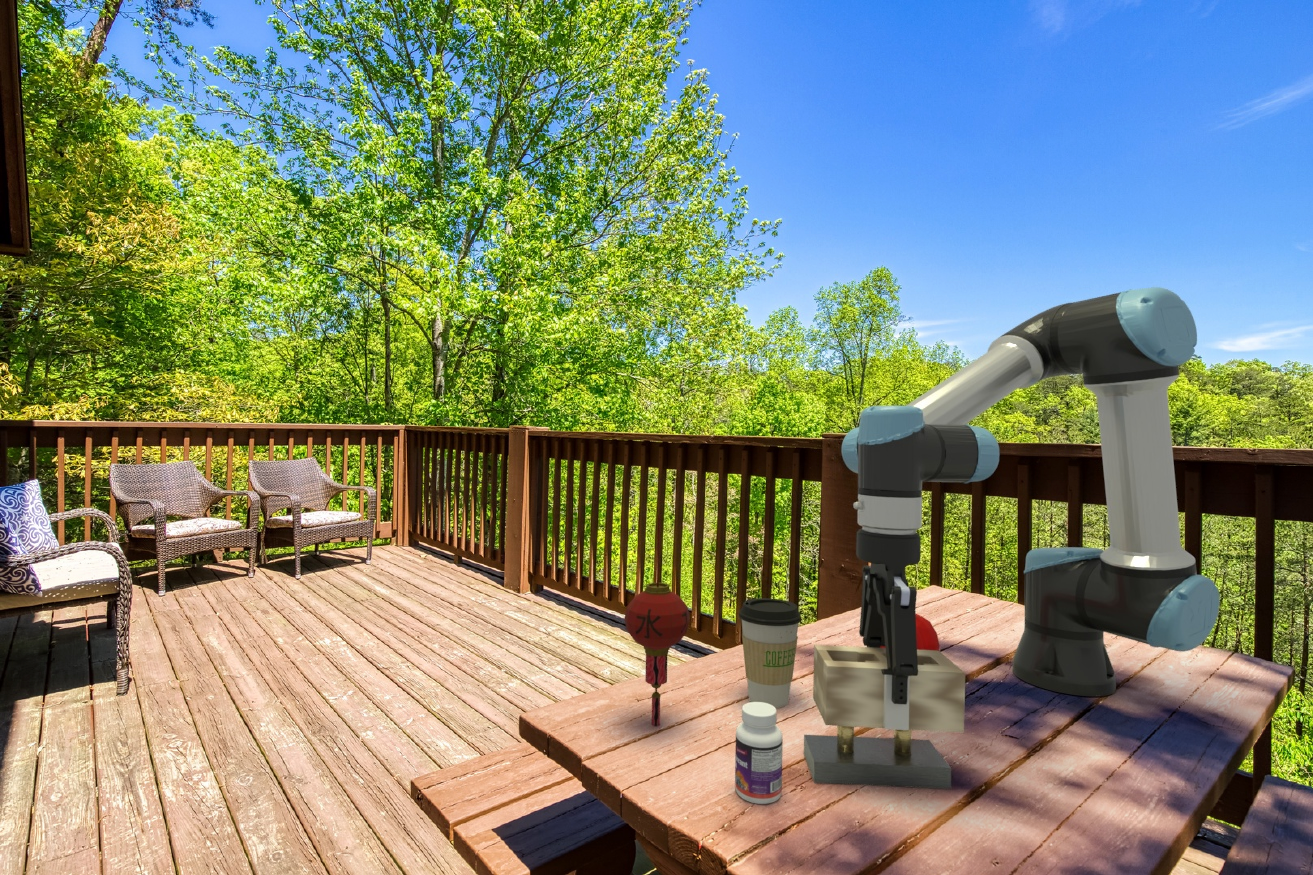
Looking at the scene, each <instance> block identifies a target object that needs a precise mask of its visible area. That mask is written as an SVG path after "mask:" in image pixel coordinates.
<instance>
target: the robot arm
mask: <svg viewBox="0 0 1313 875" xmlns="http://www.w3.org/2000/svg"><path fill="white" fill-rule="evenodd" d="M1195 321H1196V320H1195V319H1194V316H1193V314H1192V311H1191V310H1190V307H1189V306H1188V305H1187V302H1185V301H1184V300H1182V299H1181V297H1180V296H1179V295H1178V294H1177V293H1175V292H1174V291H1173V290H1170V289H1169V288H1168V289H1167V288H1164V287H1161V286H1160V287H1159V286H1158V287H1157V286H1155V287H1146V288H1139V289H1138V288H1137V289H1129V290H1124V291H1120V292H1117V293H1115V292H1114V293H1112V294H1107V295H1103V296H1099V297H1098V296H1097V297H1094V298H1093V297H1091V298H1088V299H1083V300H1078V301H1074V302H1067V303H1061V304H1059V305H1056V306H1053V307H1050V308H1048V309H1046V310H1044V311H1042V312H1039V313H1037V314H1036V315H1034V316H1032V317H1030V318H1029V319H1028V318H1027V319H1026V320H1025V321H1023V322H1021V323H1019V324H1018V325H1016V326H1014V327H1013V328H1012V329H1010V330H1008V331H1007V332H1004V333H1003V334H1002V335H1001V336H999V337H997V338H996V339H995V340H993V341H992V342H991V344H990V345H989V347H988V348H987V352H986V353H984V354H983V355H980V357H978V358H977V359H975V360H974V361H972V362H970V363H968V365H966V366H964V367H963V368H961V369H959V370H958V371H957V372H955V373H953V374H952V375H950V376H949V377H947V378H946V379H944V380H943V381H941V382H940V383H938V384H937V385H935V386H933V387H932V388H930V389H929V390H928V391H926V392H924V393H923V394H922V395H920V396H918V397H917V398H915V399H914V400H912V401H911V402H909V403H908V404H906V405H872V406H868V407H866V408H864V409H863V410H862V411H861V412H860V418H859V425H858V426H857V427H854V428H853V429H851V430H849V431H848V432H847V433H846V435H845V436H844V437H843V441H842V444H841V456H842V459H843V462H844V465H846V467H847V468H848V469H849V470H850V471H852V472H853V473H856V474H857V499H858V500H857V501H856V502H853V508H854V510H857V524H858V525H859V526H861V527H862V528H860V529H858V531H856V549H855V550H856V552H855V554H856V557H857V558H858V559H859V560H860V561H862V562H865V563H869V564H870V565H863V566H862V568H861V570H862V571H861V572H862V592H861V593H862V594H861V605H860V606H861V607H860V617H859V618H860V619H859V620H860V621H859V631H858V633H859V636H860V637H861V638H862V637H863V638H862V644H863V647H873V648H880V646H883V647H885V648H886V658H887V669H881V672H882V674H883V675H884V713H883V727H884V728H883V729H884V730H893V731H894V730H909V689H910V676H917V675H918V661H917V636H916V614H917V613H916V609H915V608H916V607H917V606H916V605H917V597H918V596H917V594H918V591H917V588H916V587H915V586H909V580H908V579H907V575H906V568H907V567H908V566H915V565H918V564H919V563H920V561H921V553H922V552H921V551H922V550H921V544H922V543H921V541H922V537H921V535H920V533H918V532H917V530H919V529H921V528H922V527H923V525H922V524H923V523H922V522H923V521H922V520H923V494H922V493H923V491H922V490H923V483H926V482H929V483H931V482H933V483H934V482H935V483H940V482H941V483H963V484H969V483H971V482H981V481H985V480H986V479H988V478H990V477H991V476H992V475H993V474H994V472H995V471H996V469H997V468H998V465H999V462H1000V446H999V443H998V441H997V439H996V437H995V436H994V434H993V433H992V432H991V431H989V430H987V429H986V428H983V427H980V426H974V425H970V424H968V423H969V422H971V421H973V419H975V418H977V417H978V416H980V415H981V414H982V413H984V412H986V410H989V409H990V408H992V407H993V406H994V405H995V404H997V403H999V402H1000V401H1001V400H1003V399H1004V398H1005V397H1007V396H1009V395H1010V394H1011V393H1013V392H1014V391H1015V390H1016V391H1017V389H1019V390H1020V389H1027V388H1031V387H1033V386H1034V385H1036V384H1037V383H1038V382H1040V381H1043V380H1046V379H1050V378H1054V377H1061V376H1069V375H1082V381H1083V387H1084V388H1086V389H1087V390H1089V391H1090V392H1092V393H1093V394H1094V395H1095V396H1096V405H1097V414H1098V424H1099V425H1098V426H1099V436H1100V437H1099V438H1100V445H1101V447H1100V448H1101V457H1102V466H1103V467H1102V468H1103V478H1104V490H1105V498H1106V499H1105V500H1106V510H1107V520H1108V521H1107V522H1108V531H1109V540H1110V543H1109V544H1110V545H1109V547H1107V549H1105V550H1104V549H1101V548H1097V547H1082V546H1081V547H1077V546H1075V547H1074V546H1072V547H1069V546H1068V547H1066V546H1065V547H1063V546H1062V547H1055V546H1054V547H1040V548H1039V547H1038V548H1037V547H1036V548H1032V549H1031V550H1029V551H1028V552H1027V553H1026V556H1025V567H1024V570H1023V575H1024V629H1023V632H1022V635H1021V638H1020V640H1019V643H1018V645H1017V648H1016V650H1015V653H1014V655H1013V657H1012V672H1013V674H1014V676H1015V677H1016V678H1018V679H1020V680H1022V681H1023V682H1025V683H1028V684H1030V685H1033V686H1036V687H1039V688H1041V689H1044V690H1049V691H1051V692H1057V693H1060V694H1066V695H1071V696H1072V695H1073V696H1079V697H1081V696H1082V697H1105V696H1109V695H1112V694H1115V692H1116V691H1117V688H1116V687H1117V678H1116V673H1115V671H1114V668H1113V665H1112V662H1111V659H1110V656H1109V652H1108V651H1107V648H1106V645H1105V642H1104V633H1107V634H1111V635H1114V636H1118V637H1121V638H1123V639H1128V640H1131V641H1135V642H1138V643H1142V644H1145V645H1149V646H1150V647H1153V648H1162V649H1166V650H1172V651H1175V652H1188V651H1192V650H1194V649H1196V648H1198V647H1199V646H1200V645H1201V644H1203V643H1204V642H1205V640H1206V639H1207V638H1208V637H1209V636H1210V634H1211V632H1212V631H1213V629H1214V627H1215V624H1216V622H1217V620H1218V616H1219V611H1220V609H1219V608H1220V603H1221V602H1220V593H1219V589H1218V587H1217V585H1216V583H1215V582H1214V581H1213V580H1212V579H1211V578H1209V577H1206V576H1205V575H1204V574H1203V575H1202V574H1197V573H1198V572H1197V564H1196V563H1197V562H1196V558H1195V557H1194V556H1193V555H1192V554H1191V553H1189V552H1188V551H1187V550H1185V548H1183V547H1182V542H1181V530H1180V521H1179V520H1180V519H1179V518H1180V517H1179V508H1178V500H1177V499H1178V496H1177V488H1176V487H1177V485H1176V484H1177V483H1176V474H1175V465H1174V453H1173V452H1174V451H1173V444H1172V442H1173V441H1172V440H1173V439H1172V429H1171V419H1170V406H1169V397H1168V389H1169V388H1170V386H1171V385H1172V384H1173V383H1174V382H1175V381H1177V380H1178V378H1179V377H1180V368H1179V366H1181V365H1183V364H1185V363H1187V362H1188V361H1190V360H1191V359H1192V357H1193V356H1194V354H1195V347H1196V346H1197V344H1198V332H1197V330H1198V329H1197V326H1196V322H1195Z"/></svg>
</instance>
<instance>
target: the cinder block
mask: <svg viewBox="0 0 1313 875" xmlns="http://www.w3.org/2000/svg"><path fill="white" fill-rule="evenodd" d="M813 649H814V650H813V678H812V679H813V680H812V681H813V682H812V683H813V684H812V686H813V687H812V688H813V689H812V698H813V701H814V703H815V705H816V707H817V709H818V711H819V714H820V716H821V719H822V720H823V723H824V725H825V726H833V727H834V726H851V727H854V728H868V729H869V728H872V729H873V728H874V729H885V728H884V727H883V713H884V675H883V674H882V672H881V669H887V658H886V648H873V647H867V646H852V645H851V646H848V645H829V644H826V645H825V644H814V647H813ZM917 661H918V675H917V676H910V689H909V730H912V731H924V732H925V731H927V732H928V731H929V732H945V733H947V732H948V733H962V734H963V733H965V699H966V695H965V694H966V672H965V671H964V670H962V669H961V668H960V667H959V666H958V665H957V664H955V662H953V661H952V660H951V659H949V658H948V657H947V656H946V655H945V654H944V653H942V652H941V651H940V650H939V651H937V650H917Z"/></svg>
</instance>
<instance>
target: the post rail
mask: <svg viewBox="0 0 1313 875" xmlns="http://www.w3.org/2000/svg"><path fill="white" fill-rule="evenodd" d="M912 731H913V730H893V738H892V737H891V738H890V737H873V736H872V737H867V736H865V737H864V736H855V727H851V726H837V729H836V734H837V735H826V734H824V735H819V734H803V756H804V758H805V761H806V764H807V767H808V769H809V772H810V774H811V775H810V776H811V777H812V781H813V783H814V784H833V785H835V784H836V785H855V786H877V787H898V788H917V789H918V788H921V789H938V790H939V789H941V790H943V789H944V790H951V789H952V767H951V766H950V764H949V763H948V762H947V761H946V759H945V758H944V757H943V756H942V754H941V753H940V752H939V751H938V749H937V748H936V746H935V745H934V744H933V743H932V742H931V740H930V739H914V738H912Z"/></svg>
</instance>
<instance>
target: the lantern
mask: <svg viewBox="0 0 1313 875" xmlns="http://www.w3.org/2000/svg"><path fill="white" fill-rule="evenodd" d="M660 517H661V516H660V515H659V514H658V515H657V550H656V551H657V552H656V553H657V554H656V557H657V560H656V582H649V583H646V584H645V588H644V590H643V591H641V592H640V593H638V594H636V595H635V596H634V597H633V599H632V600H631V601H630V603H629V604H628V605H627V606H626V610H625V614H624V623H625V624H624V625H625V628H626V631H627V633H628V634H629V635H630V637H631V638H632V639H633V641H634V642H635V643H636V644H638V645H640V646H642V647H643V649H644V653H645V682H646V683H647V684H649V685H650V686H651V687H652V688H654V689H655V691H654V692H652V694H651V725H652V726H654V727H658V726H660V725H661V724H660V722H661V694H660V692H659V691H658V689H659V688H661V687H662V685H665V684H667V682H668V654H669V650H671V649H670V648H671V647H673V646H675V645H677V644H678V643H680V642H681V641H682V639H683V638H684V637H685V635H686V634H687V631H688V628H689V624H690V620H691V619H690V618H691V617H690V611H689V606H687V604H686V602H685V601H684V600H683V599H682V597H681V596H680V595H678V594H677V593H676V592H673V591H672V590H671V588H670V584H668V583H665V582H659V580H660V579H659V578H660V531H661V530H660V525H661V524H660V522H661V521H660V519H661V518H660Z"/></svg>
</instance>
